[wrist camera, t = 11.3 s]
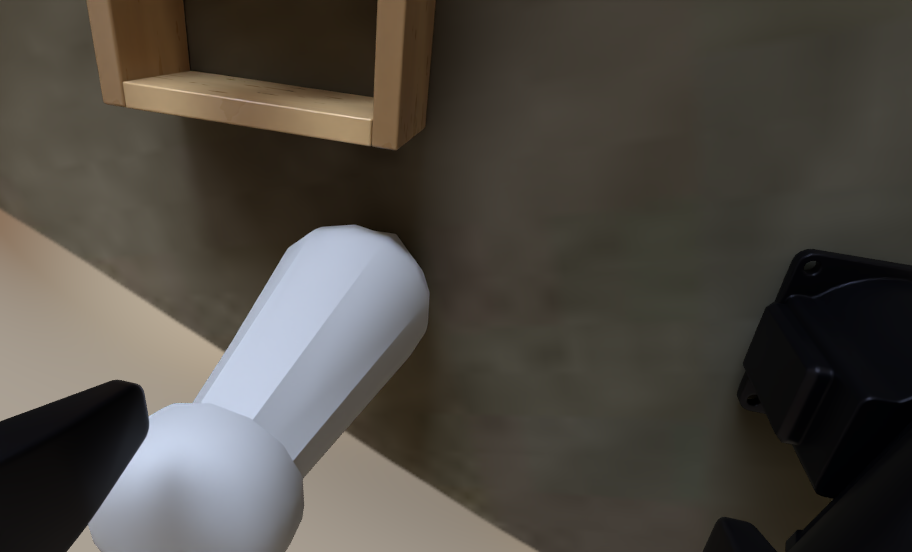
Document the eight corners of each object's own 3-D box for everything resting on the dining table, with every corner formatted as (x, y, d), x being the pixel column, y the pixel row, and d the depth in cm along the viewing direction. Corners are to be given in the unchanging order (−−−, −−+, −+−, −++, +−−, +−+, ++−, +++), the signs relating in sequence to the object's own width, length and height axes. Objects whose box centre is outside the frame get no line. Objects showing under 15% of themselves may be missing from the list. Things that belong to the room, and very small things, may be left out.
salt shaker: (323, 338, 24) (93, 637, 13) (287, 212, 22) (-33, 438, 10) (454, 334, 23) (329, 665, 11) (430, 199, 21) (244, 442, 9)
